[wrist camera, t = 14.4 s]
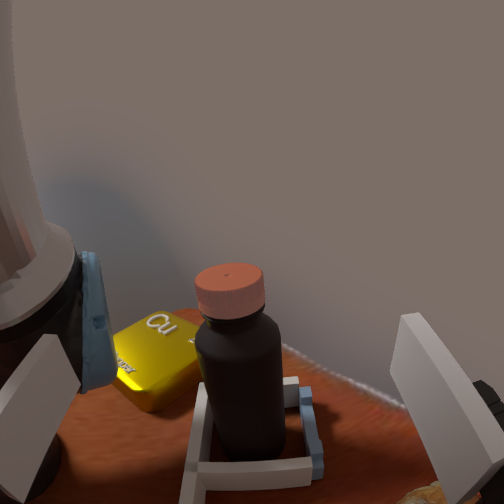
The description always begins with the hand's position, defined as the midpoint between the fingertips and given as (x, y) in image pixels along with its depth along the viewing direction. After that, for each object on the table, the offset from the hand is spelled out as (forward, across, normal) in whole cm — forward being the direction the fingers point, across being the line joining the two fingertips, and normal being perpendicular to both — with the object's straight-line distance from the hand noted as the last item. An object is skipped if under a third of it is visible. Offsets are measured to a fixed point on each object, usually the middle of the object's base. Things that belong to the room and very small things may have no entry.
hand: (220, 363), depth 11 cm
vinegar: (+11, 0, -22) cm, 25 cm away
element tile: (+26, -14, -23) cm, 37 cm away
